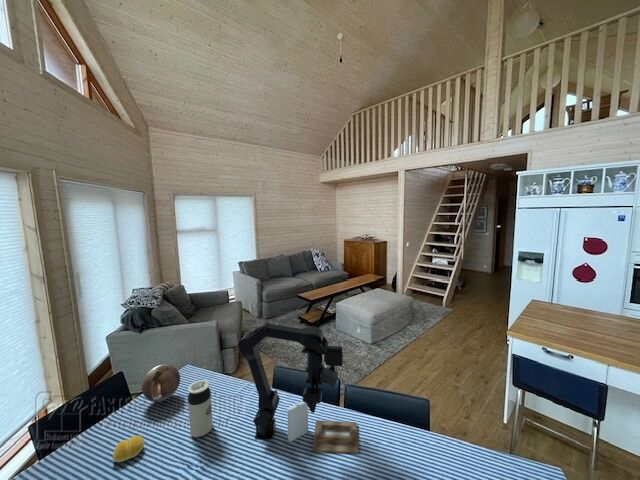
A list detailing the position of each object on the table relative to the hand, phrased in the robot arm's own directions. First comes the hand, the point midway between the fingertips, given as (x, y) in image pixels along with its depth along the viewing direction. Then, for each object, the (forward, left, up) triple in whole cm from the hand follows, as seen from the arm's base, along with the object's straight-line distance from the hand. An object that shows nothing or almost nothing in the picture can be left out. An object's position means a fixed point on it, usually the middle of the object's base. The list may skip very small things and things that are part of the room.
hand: (314, 403), depth 97 cm
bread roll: (-64, -8, -13) cm, 66 cm away
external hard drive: (-6, -1, -13) cm, 15 cm away
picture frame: (+8, -1, -13) cm, 15 cm away
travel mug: (-45, 0, -13) cm, 46 cm away
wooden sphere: (-72, +16, -13) cm, 75 cm away
